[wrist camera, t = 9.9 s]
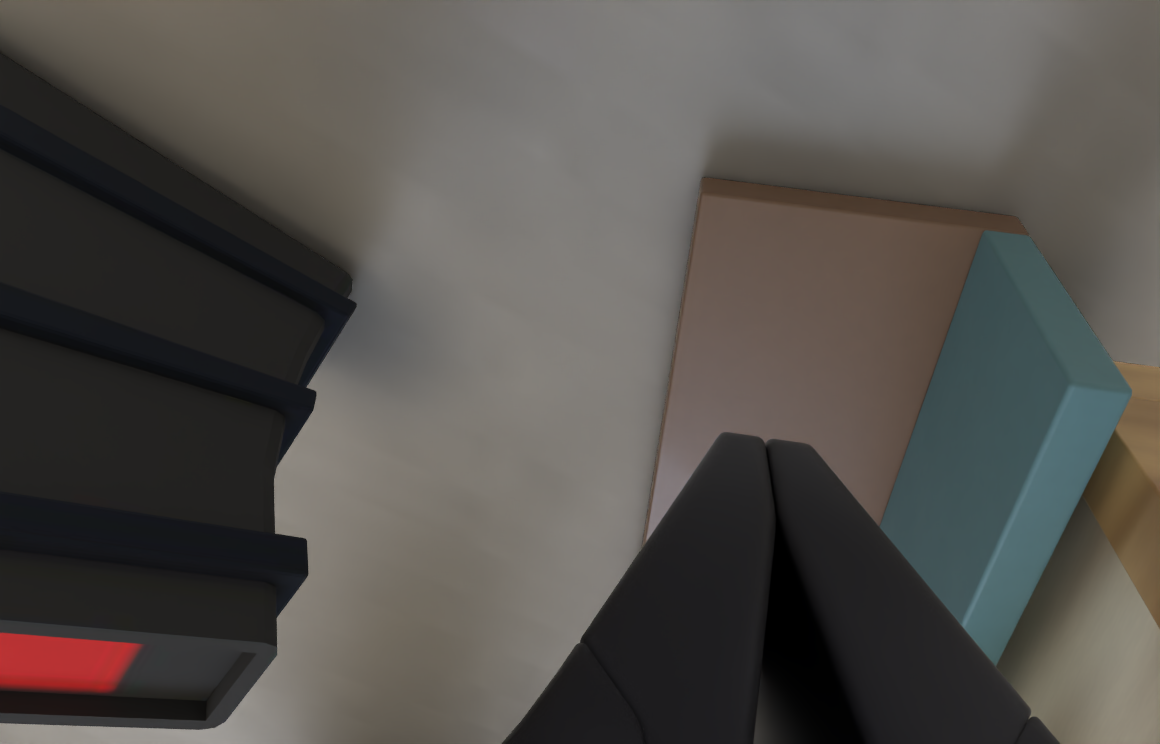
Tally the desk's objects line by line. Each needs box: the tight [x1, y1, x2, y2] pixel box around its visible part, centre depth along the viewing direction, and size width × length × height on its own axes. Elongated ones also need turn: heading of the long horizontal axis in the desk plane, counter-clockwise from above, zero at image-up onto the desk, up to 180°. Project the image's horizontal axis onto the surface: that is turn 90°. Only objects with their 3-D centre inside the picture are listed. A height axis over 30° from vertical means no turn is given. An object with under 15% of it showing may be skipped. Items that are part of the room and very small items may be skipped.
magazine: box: [0, 53, 357, 730], centre depth 18 cm, size 4×13×15 cm, turn 56°
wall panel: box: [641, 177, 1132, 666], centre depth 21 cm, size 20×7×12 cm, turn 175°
